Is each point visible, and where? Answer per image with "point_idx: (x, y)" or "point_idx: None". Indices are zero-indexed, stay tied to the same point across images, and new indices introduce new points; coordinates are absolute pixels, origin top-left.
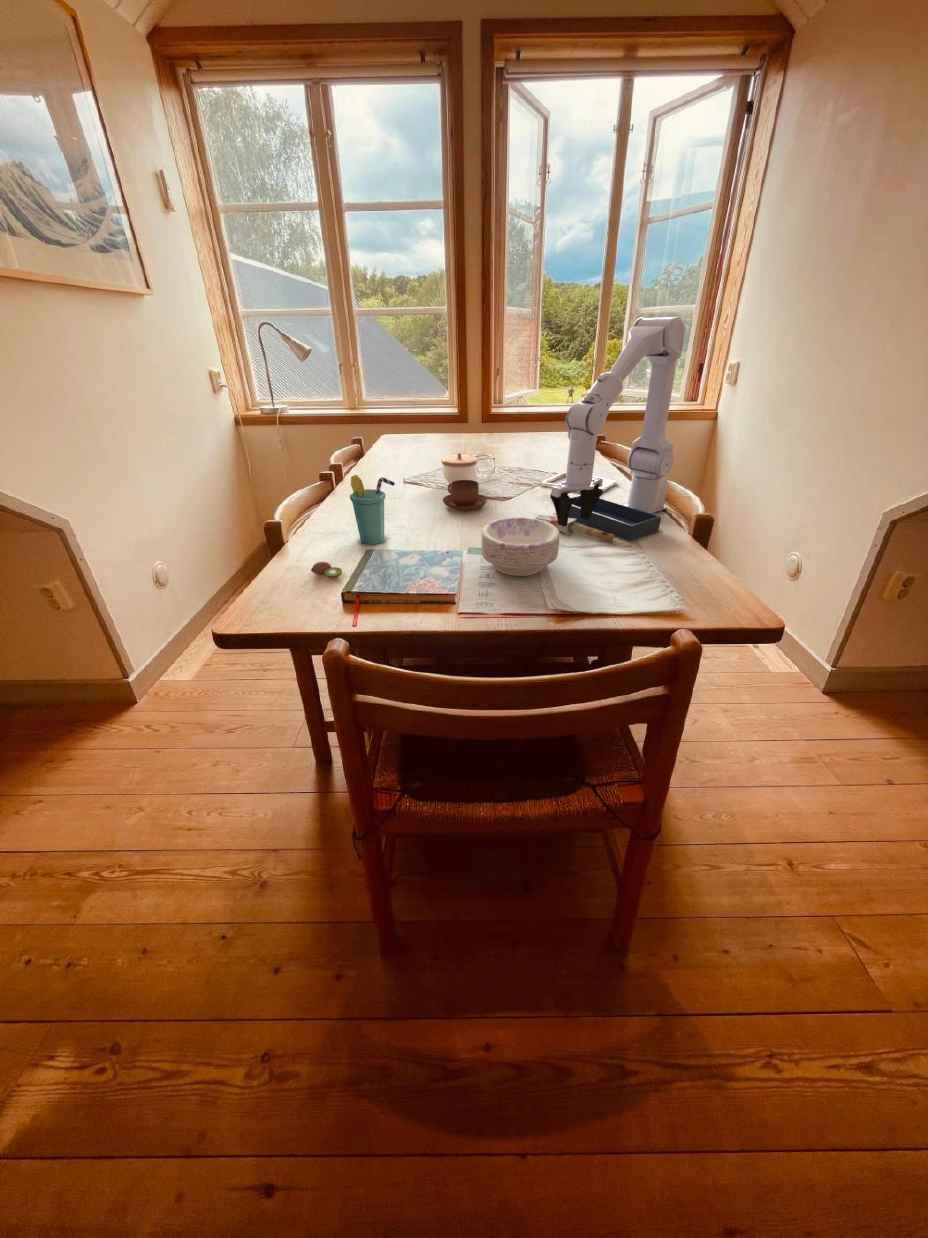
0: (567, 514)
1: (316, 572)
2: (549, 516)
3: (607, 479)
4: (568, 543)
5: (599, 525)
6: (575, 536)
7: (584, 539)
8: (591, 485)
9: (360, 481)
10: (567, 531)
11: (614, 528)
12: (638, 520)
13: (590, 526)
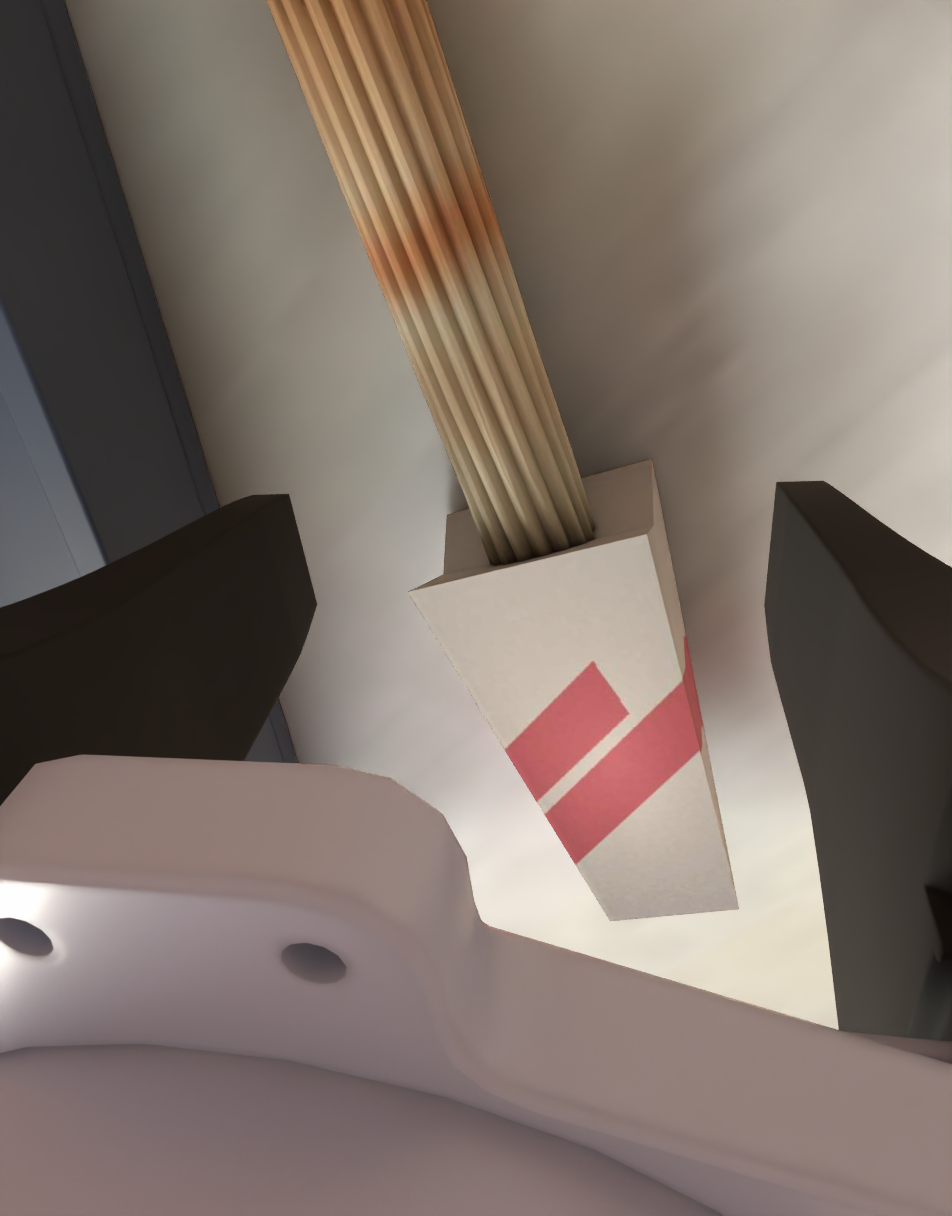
0: (882, 559)
1: None
2: (585, 846)
3: None
4: (943, 172)
5: (138, 364)
6: (613, 342)
7: (591, 167)
8: (71, 956)
9: None
10: (640, 487)
11: (5, 41)
12: None
13: (210, 485)
